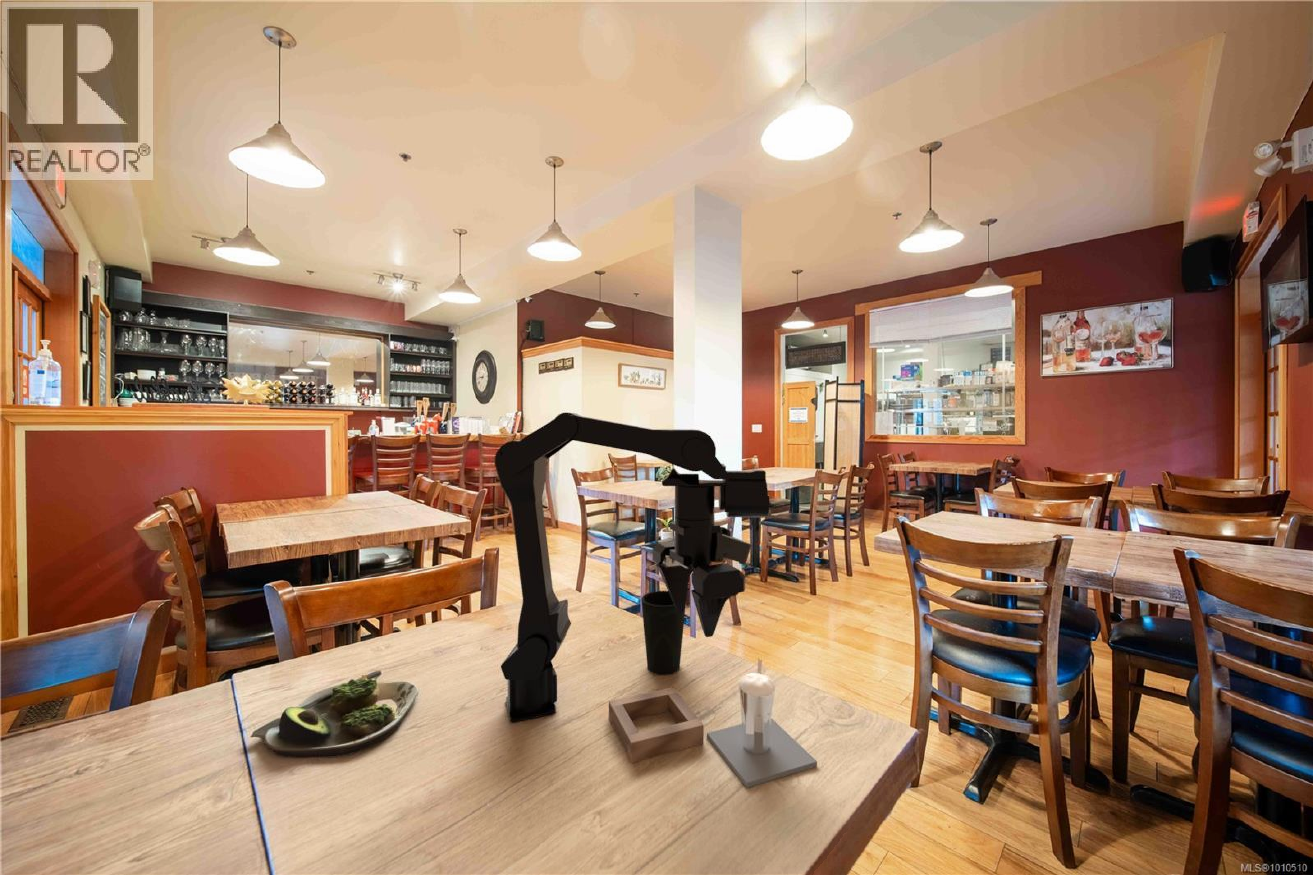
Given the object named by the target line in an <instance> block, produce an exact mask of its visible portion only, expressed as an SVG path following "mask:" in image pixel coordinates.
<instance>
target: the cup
mask: <svg viewBox="0 0 1313 875" xmlns="http://www.w3.org/2000/svg"><path fill="white" fill-rule="evenodd" d="M641 610H642V621H643V622H642V623H643V631H644V633H643V634H644V644H645V653H646V664H647V666H646V667H647V670H648V671H649V672H650V673H651V674H654V675H655V674H656V675H659V676H668V675H673V674H675V673H677V672H678V671H679V670H680V668H681V658H682V646H683V635H684V627H685V626H684V625H685V624H684V623H685V616H686V614H685V613H686V611H685V612H683V613H678V612H677V610H676V608H675V605H674V603H673V601H672V599H671V596H670V594H669V592H668V590H657V591H656V590H655V591H649V592H648V593H645V594H643V596H642V597H641Z"/></svg>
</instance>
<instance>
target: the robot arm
mask: <svg viewBox="0 0 1313 875" xmlns="http://www.w3.org/2000/svg"><path fill="white" fill-rule="evenodd" d="M573 441H575V442H580V443H585V444H590V445H591V444H592V445H596V446H597V445H598V446H600V447H601V446H602V447H608V448H611V449H612V448H613V449H617V450H624V451H629V452H633V453H640V454H644V455H648V456H651V457H653V458H656V459H658V460H660V461H664V462H665V463H668V464H671V465H673V466H676V467H679V468H681V469H683V470H687V471H690V472H700V471H701V472H703V473H704V474H706V475H707V476H708V477H710V478H712V480H711V479H700V476H699V473H679V472H678V471H677V470H676V468H675V467H674V468H673V467H672V468H671V470H670V472H669V473H668V474H667V476H665V477H663V479H662V481H661V485H662V486H663V487H674V521H669V530H671V531H673V532H674V540H670V541H668V540H667V541H661V542H660V541H659V542H657V543H656V544H655V545H654V546H653V548H652V561H653V562H655V566H656V569H658V572H659V574H660V576H661V578H662V580H663V583H664V585H665V587H666V589H667V591H668V592H669V594H670V596H671V599H672V601H673V603H674V605H675V608H676V610H677V612H678V613H683V612H685V613H686V605H687V598H688V590H689V579H690V576H691V584H692V587H693V589H691V591H690V592H691V596H692V599H693V602H694V605H695V609H696V613H697V615H698V619H699V622H700V625H701V628H702V631H703V635H704V637H706V638H710V637H711V638H712V637H713V636H714V634H715V631H716V628H717V625H718V622H719V620H720V617H721V614H722V611H723V609H724V606H725V605H726V603H727V601H728V600H729V599H730V598H731V597H735V596H737V595H739V593H744V592H745V591H746V575H745V574H744V573H743V572H742V571H741V570H740V569H739V568H736V567H735V566H732V565H731V564H730V563H729V564H728V563H726V562H725V563H723V562H724V558H725V559H727V560H731V561H734V562H736V563H739V564H740V565H742V566H746V565H747V561H748V559H749V558H748V557H749V555H750V551H751V549H752V544H751V543H749V542H747V541H744V540H741V539H740V538H739V539H738V538H736V537H734V536H732V535H731V529H728V528H726V527H723V526H721V525H720V524H717V523H715V499H716V498H715V494H716V493H715V492H716V491H715V488H716V487H718V510H719V511H724V513H726V518H768V516H769V511H770V495H769V492H768V483H767V479H766V478H767V475H766V474H767V473H766V471H765V470H764V469H751V470H727V467H726V465H725V464H724V463H721V461H720V460H719V458H718V457H716V453H717V452H716V451H717V450H716V449H717V447H716V445H715V444H716V443H715V441H714V440H713V438H712V437H711V435H709V434H708V433H706V432H705V431H702V430H700V429H693V428H691V429H687V428H686V429H682V428H680V429H679V428H677V429H675V428H671V429H668V428H667V429H666V428H664V429H663V428H662V429H661V428H659V429H658V428H657V429H655V428H654V429H653V428H648V427H644V426H643V427H641V426H638V425H632V424H626V423H621V422H615V421H609V420H605V419H599V418H594V417H589V416H583V415H581V414H578V413H575V412H562V413H560V414H559V413H558V414H557V416H556V417H555V418H553V419H552V420H551V421H549V422H548V423H546V424H545V425H542V426H541V427H539V428H538V429H536V430H534V431H533V432H531V433H529V434H527V435H526V436H524V437H523V438H522V439H517V440H510V441H507V442H505V443H503V444H501V446H500V447H499V448H498V449H497V451H496V452H495V455H494V468H495V471H496V474H497V478H498V480H499V483H500V487H501V488H502V490H503V492H504V494H505V496H506V498H507V499H508V501H509V503H510V506H511V507H510V508H511V513H512V521H513V532H514V538H515V539H514V540H515V546H516V555H517V562H518V571H519V579H520V581H519V582H520V587H521V597H522V604H521V605H522V606H521V610H520V614H519V615H520V616H519V619H518V626H517V642H516V644H515V646H514V647H513V649H512V650H511V651H510V653H509V654H508V655H507V656H506V658H505V659H504V660H503V662H502V663H501V664H500V668H501V671H502V674H503V677H504V680H506V681H507V696H506V697H505V701H506V702H505V703H506V708H507V715H508V719H509V722H510V723H516V722H520V721H525V720H528V719H534V718H539V717H543V716H549V715H553V714H556V712H557V708H556V705H555V704H556V703H557V701H558V674H557V671H556V669H555V668H554V664H553V662H552V661H553V659H554V658H555V657H556V655H557V654H558V651H559V650H560V648H561V646H562V644H563V642H564V640H565V638H566V637H567V633H568V631H569V630H570V627H571V625H572V621H571V620H570V617H569V614H568V610H569V608H568V607H569V602H568V601H569V600H568V599H566V598H565V599H563V600H559V599H558V598H557V596H556V594H555V592H554V587H553V586H554V585H553V580H552V570H551V563H550V555H549V554H550V553H549V545H548V538H547V537H548V536H547V528H546V521H545V514H544V513H545V512H544V505H543V504H544V503H543V495H544V489H545V484H546V480H547V465H548V460H549V459H550V458H552V457H553V456H554V455H556V454H557V453H558V452H560V451H561V450H562V449H563V448H565V447H566V446H568V444H570V443H571V442H573ZM712 563H717V564H712Z"/></svg>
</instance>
